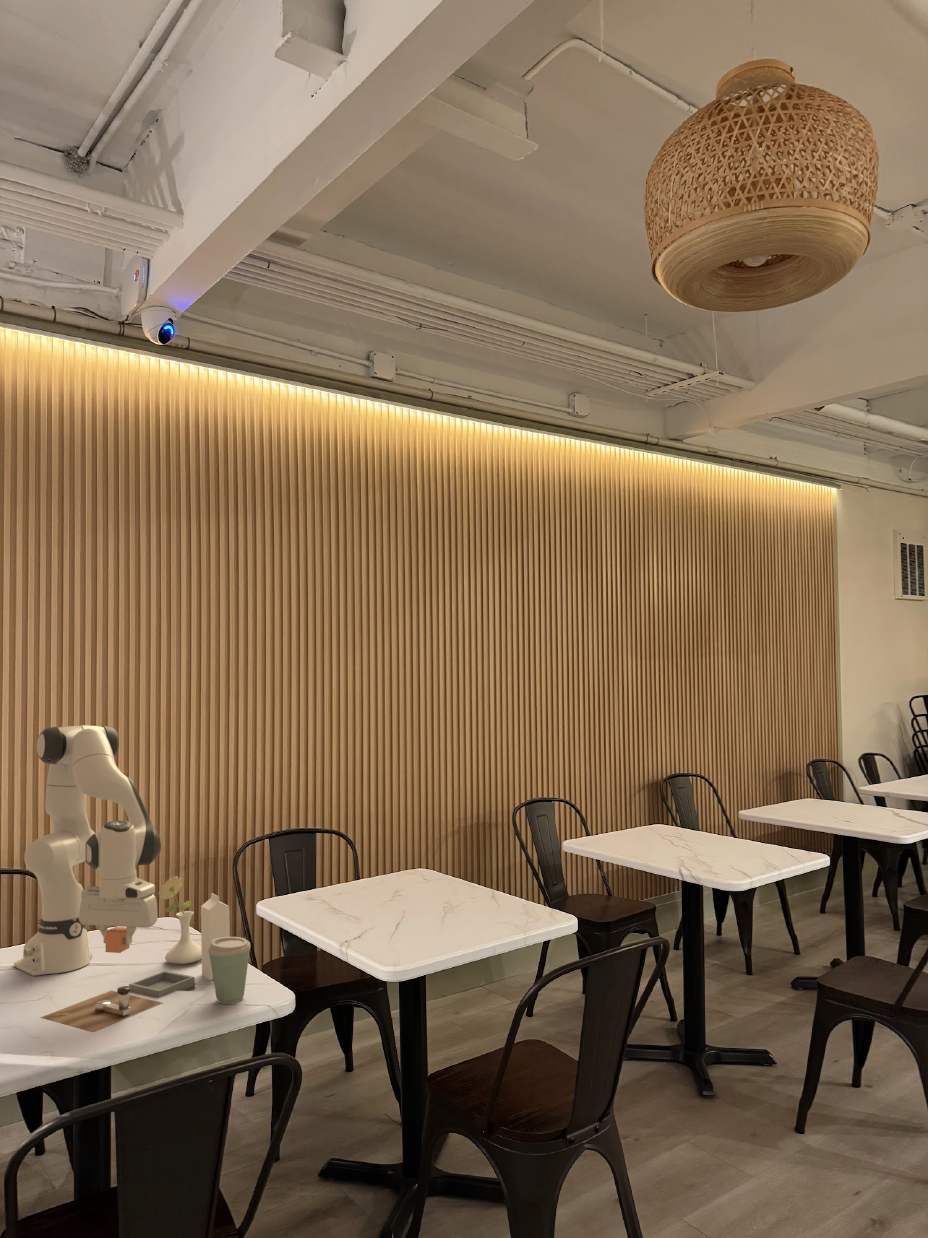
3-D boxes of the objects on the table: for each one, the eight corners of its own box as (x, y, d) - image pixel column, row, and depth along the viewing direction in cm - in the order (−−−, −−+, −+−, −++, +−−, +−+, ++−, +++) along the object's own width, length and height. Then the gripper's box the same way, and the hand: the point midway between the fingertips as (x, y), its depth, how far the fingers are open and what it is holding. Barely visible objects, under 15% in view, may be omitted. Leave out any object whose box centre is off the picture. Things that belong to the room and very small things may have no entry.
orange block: (105, 952, 218) (105, 931, 218) (115, 947, 222) (115, 927, 222) (119, 953, 217) (119, 932, 217) (129, 948, 221) (129, 927, 221)
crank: (91, 1010, 215) (91, 984, 215) (104, 1005, 218) (104, 980, 218) (121, 1018, 209) (121, 991, 210) (134, 1012, 212) (134, 987, 213)
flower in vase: (197, 952, 264) (196, 868, 266) (211, 961, 255) (210, 874, 257) (154, 962, 256) (153, 875, 258) (166, 972, 247) (165, 882, 249)
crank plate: (40, 1023, 212) (40, 1017, 212) (111, 996, 229) (111, 990, 229) (93, 1039, 202) (93, 1031, 202) (163, 1009, 219) (163, 1002, 219)
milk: (209, 980, 239) (207, 898, 240) (201, 975, 244) (200, 894, 245) (231, 975, 242) (229, 894, 244) (222, 970, 247) (221, 890, 249)
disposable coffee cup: (249, 990, 230) (248, 931, 231) (254, 1003, 220) (253, 942, 221) (207, 996, 227) (206, 937, 228) (211, 1011, 217) (210, 949, 218)
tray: (129, 996, 229) (129, 984, 229) (164, 982, 239) (164, 970, 239) (159, 1003, 223) (159, 991, 223) (194, 988, 233) (194, 977, 233)
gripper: (73, 889, 220) (73, 945, 219) (146, 892, 215) (146, 949, 214) (89, 883, 226) (89, 937, 225) (161, 885, 221) (160, 941, 221)
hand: (117, 943), depth 220 cm, fingers closed on orange block, 4 cm apart
